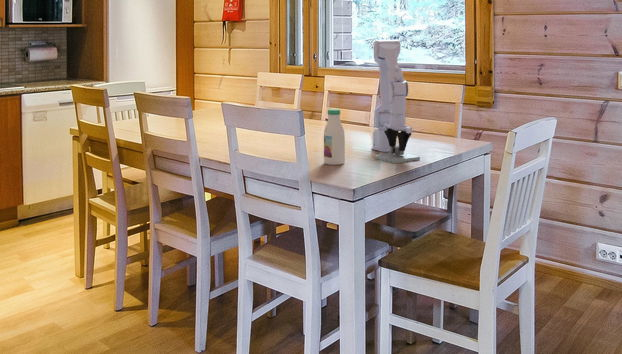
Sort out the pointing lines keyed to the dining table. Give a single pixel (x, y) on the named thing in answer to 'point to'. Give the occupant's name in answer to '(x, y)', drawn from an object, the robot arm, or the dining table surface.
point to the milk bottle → (334, 139)
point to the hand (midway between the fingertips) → (397, 149)
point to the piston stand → (397, 157)
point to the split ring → (395, 150)
